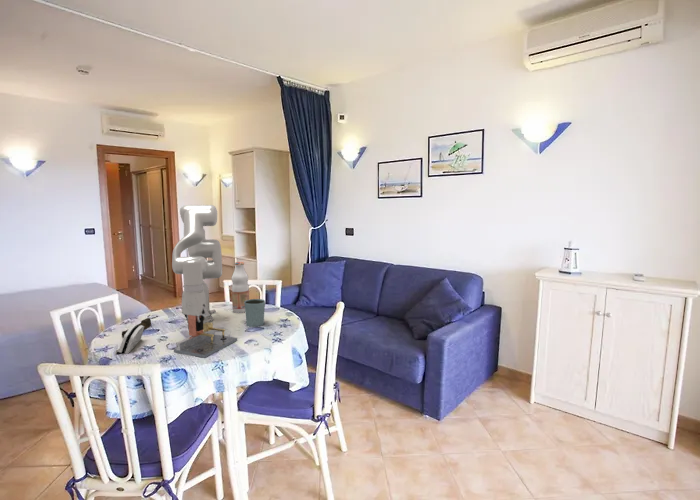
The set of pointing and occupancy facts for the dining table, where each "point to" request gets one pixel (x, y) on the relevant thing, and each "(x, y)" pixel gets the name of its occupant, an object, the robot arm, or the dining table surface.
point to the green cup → (254, 312)
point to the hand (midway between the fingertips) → (196, 329)
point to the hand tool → (145, 323)
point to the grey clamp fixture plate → (204, 342)
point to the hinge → (131, 338)
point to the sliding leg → (193, 328)
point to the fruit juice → (239, 288)
